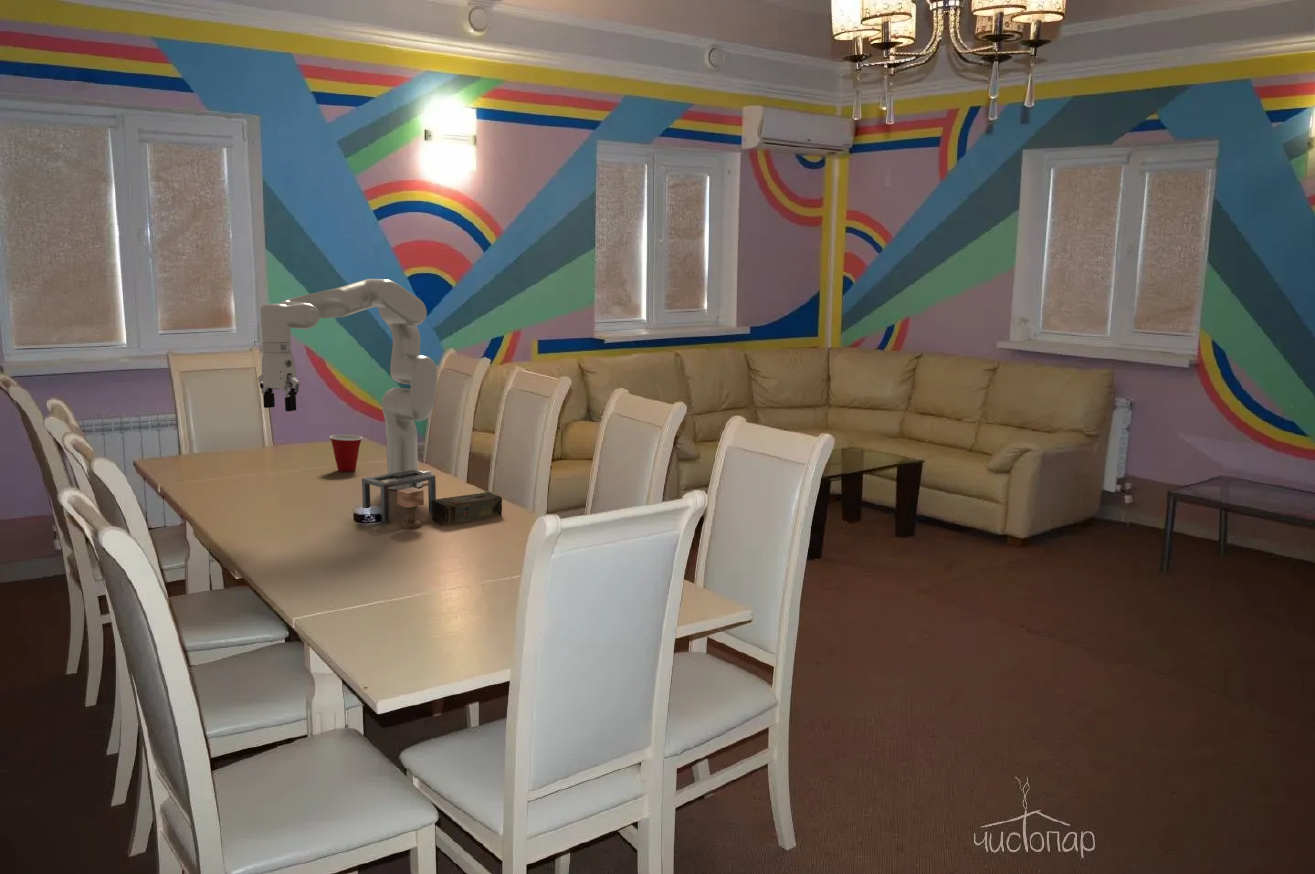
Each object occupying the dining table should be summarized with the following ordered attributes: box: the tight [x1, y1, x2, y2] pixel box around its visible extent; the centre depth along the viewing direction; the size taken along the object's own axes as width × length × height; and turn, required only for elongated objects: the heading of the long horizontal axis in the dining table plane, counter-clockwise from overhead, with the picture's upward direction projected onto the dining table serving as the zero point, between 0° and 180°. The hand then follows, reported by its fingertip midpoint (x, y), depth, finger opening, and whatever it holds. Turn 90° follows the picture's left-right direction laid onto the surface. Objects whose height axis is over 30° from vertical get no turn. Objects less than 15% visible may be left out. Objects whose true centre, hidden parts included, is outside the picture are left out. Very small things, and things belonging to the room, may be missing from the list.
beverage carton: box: [431, 491, 503, 527], centre depth 286 cm, size 8×19×7 cm, turn 131°
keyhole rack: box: [361, 470, 437, 524], centre depth 288 cm, size 17×11×11 cm, turn 138°
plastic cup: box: [329, 434, 363, 473], centre depth 346 cm, size 11×11×12 cm
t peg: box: [396, 487, 425, 530], centre depth 276 cm, size 5×5×10 cm
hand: (280, 409), depth 285 cm, fingers open, 9 cm apart
